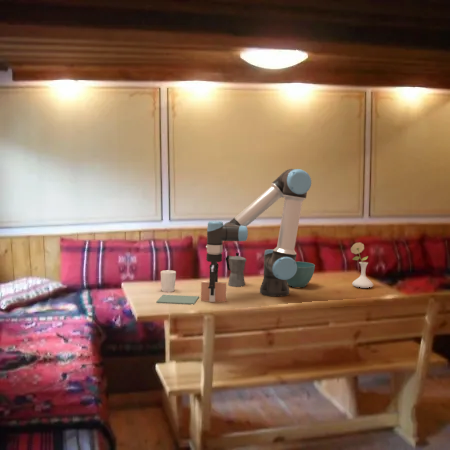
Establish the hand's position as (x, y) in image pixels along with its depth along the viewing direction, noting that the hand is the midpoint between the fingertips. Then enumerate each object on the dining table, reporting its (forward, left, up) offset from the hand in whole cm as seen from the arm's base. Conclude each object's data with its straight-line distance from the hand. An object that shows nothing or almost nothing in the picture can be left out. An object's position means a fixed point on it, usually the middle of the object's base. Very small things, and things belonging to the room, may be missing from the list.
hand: (213, 299), depth 291 cm
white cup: (+26, -17, 0) cm, 31 cm away
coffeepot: (-7, -39, 0) cm, 40 cm away
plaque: (0, 0, 0) cm, 0 cm away
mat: (+17, +3, 0) cm, 17 cm away
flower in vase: (-76, -48, 0) cm, 90 cm away
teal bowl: (-41, -43, 0) cm, 60 cm away
